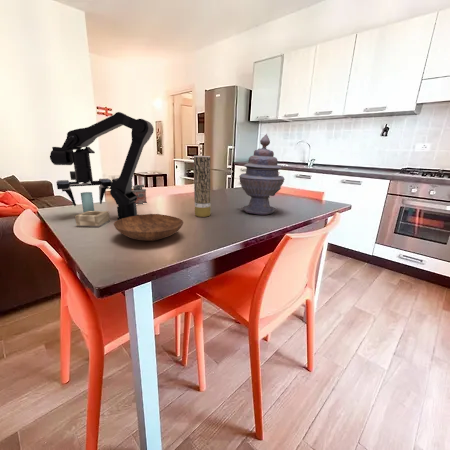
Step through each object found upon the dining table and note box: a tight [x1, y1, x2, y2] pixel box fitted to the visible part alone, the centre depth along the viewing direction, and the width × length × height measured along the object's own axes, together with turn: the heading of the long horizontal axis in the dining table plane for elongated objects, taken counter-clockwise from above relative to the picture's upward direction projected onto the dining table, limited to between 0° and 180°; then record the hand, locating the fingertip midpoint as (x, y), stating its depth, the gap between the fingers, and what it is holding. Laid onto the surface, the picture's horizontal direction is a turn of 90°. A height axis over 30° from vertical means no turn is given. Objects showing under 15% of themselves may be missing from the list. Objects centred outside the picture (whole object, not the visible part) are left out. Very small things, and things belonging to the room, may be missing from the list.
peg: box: [80, 191, 95, 213], centre depth 99 cm, size 4×4×10 cm
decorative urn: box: [238, 133, 285, 216], centre depth 110 cm, size 20×20×35 cm
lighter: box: [131, 184, 148, 205], centre depth 126 cm, size 8×3×10 cm, turn 143°
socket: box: [74, 210, 111, 228], centre depth 90 cm, size 8×8×4 cm
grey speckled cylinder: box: [193, 155, 212, 218], centre depth 102 cm, size 7×7×25 cm
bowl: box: [113, 213, 184, 242], centre depth 77 cm, size 20×22×5 cm
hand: (88, 204), depth 99 cm, fingers open, 9 cm apart
